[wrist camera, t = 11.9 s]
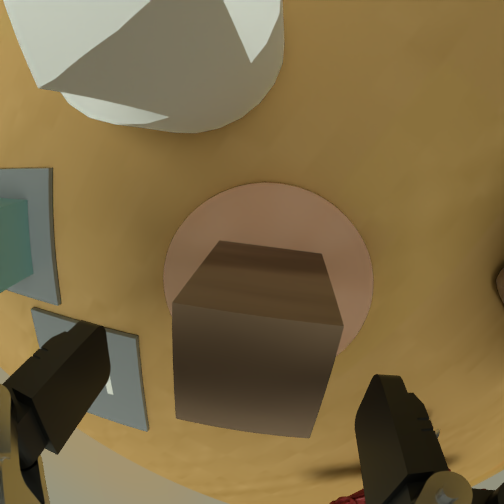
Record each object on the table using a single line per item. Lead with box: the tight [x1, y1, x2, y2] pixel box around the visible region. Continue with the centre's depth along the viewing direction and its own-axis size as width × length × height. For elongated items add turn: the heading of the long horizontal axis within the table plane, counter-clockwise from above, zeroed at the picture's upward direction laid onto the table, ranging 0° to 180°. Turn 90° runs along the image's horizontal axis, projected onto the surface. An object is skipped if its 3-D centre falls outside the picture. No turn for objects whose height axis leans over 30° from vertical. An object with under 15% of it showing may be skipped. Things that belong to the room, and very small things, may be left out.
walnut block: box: [172, 240, 344, 438], centre depth 13 cm, size 5×5×7 cm
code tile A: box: [31, 307, 149, 432], centre depth 20 cm, size 9×9×1 cm
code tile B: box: [0, 168, 61, 306], centre depth 18 cm, size 9×9×1 cm
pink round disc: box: [163, 182, 374, 356], centre depth 17 cm, size 11×11×1 cm
